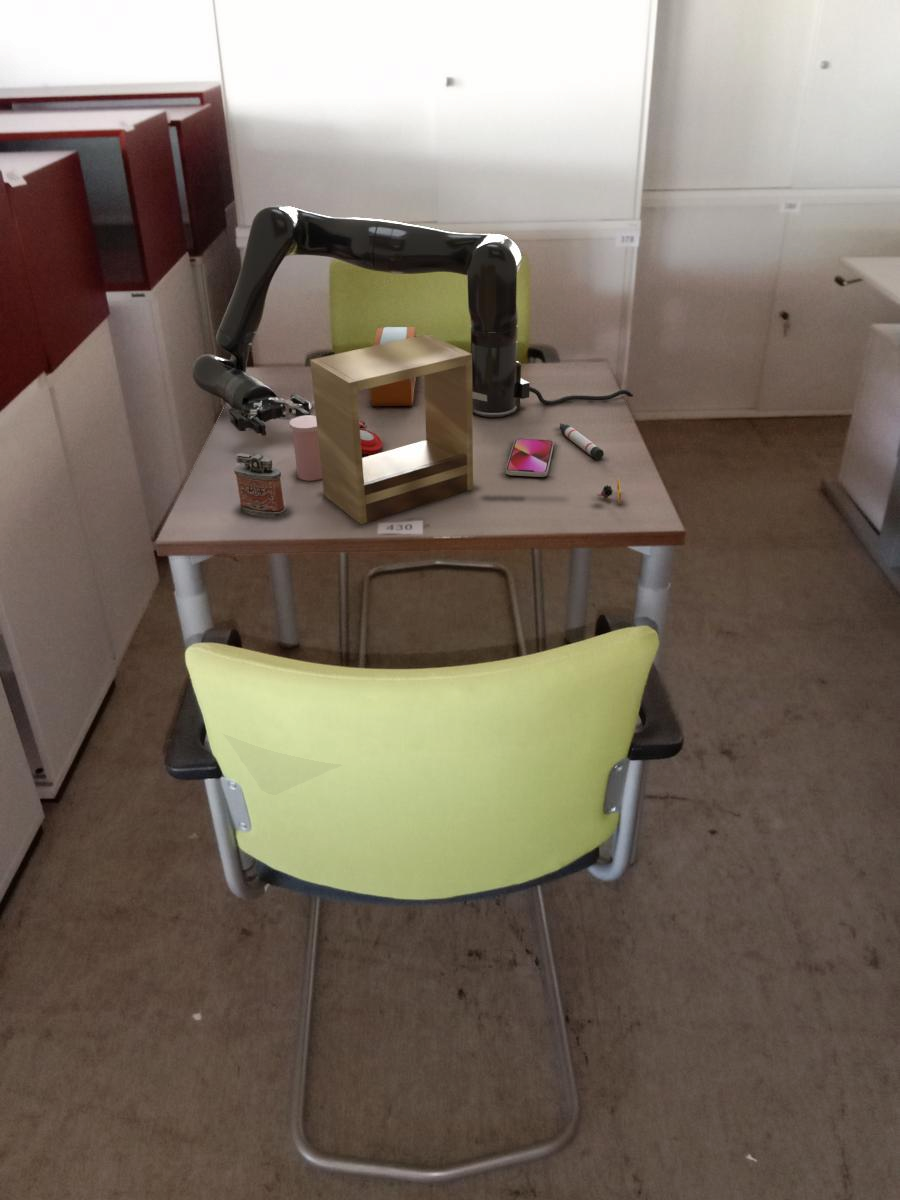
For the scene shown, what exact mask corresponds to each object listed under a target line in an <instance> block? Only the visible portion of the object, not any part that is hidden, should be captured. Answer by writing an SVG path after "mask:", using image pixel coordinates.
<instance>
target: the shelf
mask: <svg viewBox="0 0 900 1200" xmlns="http://www.w3.org/2000/svg"><path fill="white" fill-rule="evenodd" d="M309 362H310V363H309V364H310V374H311V382H312V391H313V393H312V394H313V402H314V403H313V404H314V411H315V416H316V422H317V431H318V441H319V451H320V460H321V470H322V479H321V480H322V489H323V496H325V497H326V498H327V499H329V501H331V502H332V503H333V504H334V505H336V506H337V507H339V508H340V509H341V511H344V513H346V514H347V515H349V516H350V517H351V518H352V519H353V520H355V521H356V522H357V523H359V525H364V524H366V523H369V522H373V521H375V520H379V519H382V518H385V517H388V516H392V515H394V514H399V513H401V512H404V511H407V510H410V509H413V508H417V507H420V506H424V505H427V504H431V503H433V502H436V501H439V500H442V499H445V498H449V497H452V496H454V495H455V496H456V495H458V494H461V493H464V492H467V491H471V490H474V450H473V447H474V446H473V444H474V438H473V437H474V435H473V433H474V432H473V428H474V427H473V424H474V423H473V419H474V418H473V412H472V354H471V352H469V351H467V350H465V349H462V348H459V347H457V346H456V345H453V344H452V343H449V342H447V341H445V340H442V339H441V338H438V337H436V336H434V335H432V334H430V333H426V334H422V335H416V337H412V338H408V339H403V340H398V341H394V342H389V343H385V344H380V345H376V346H373V345H371V346H366V347H362V348H358V349H354V350H349V351H344V352H339V353H335V354H331V355H330V354H329V355H326V356H321V357H317V358H311V359H309ZM422 376H423V386H424V387H423V388H424V413H425V414H424V415H425V417H424V418H425V440H421V441H418V442H413V443H411V444H407V445H404V446H400V447H396V448H393V449H389V450H385V451H383V452H379V453H377V454H373V455H368V456H364V457H363V454H362V451H361V438H360V425H359V420H360V413H359V412H360V411H359V402H358V401H359V400H358V399H359V398H358V392H361V391H366V390H370V388H373V387H378V386H382V385H386V384H390V383H394V382H398V381H402V380H407V379H411V378H415V377H416V378H418V377H422Z"/></svg>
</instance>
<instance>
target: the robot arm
mask: <svg viewBox="0 0 900 1200" xmlns="http://www.w3.org/2000/svg"><path fill="white" fill-rule="evenodd" d="M243 256H244V257H243V260H242V264H241V267H240V271H239V275H238V278H237V280H236V283H235V287H234V289H233V292H232V295H231V296H230V300H229V302H228V305H227V307H226V309H225V312H224V314H223V317H222V319H221V322H220V324H219V327H218V329H217V332H216V335H215V342H216V344H217V345H218V346H219V347H220V348H221V349H223V350H224V351H226V352H227V353H229V354H230V355H231V356H230V359H228V358H225V357H220V356H217V355H215V354H209V353H206V354H203V355H200V356H198V357H197V358H196V359H195V361H194V362H193V365H192V368H191V373H192V378H193V381H194V383H195V384H196V386H197V387H198V388H200V389H201V390H203V391H205V392H207V393H208V394H211V395H213V396H216V397H219V398H220V399H222V400H223V401H224V402H225V403H227V404H228V405H229V406H230V407H231V408H229V409H228V413H229V414H228V415H229V419H230V423H231V424H232V425H233V426H234V427H235V428H236V430H238V432H246V431H247V429H249V431H254V432H255V433H256V434H260V435H261V436H264V435H267V427H266V424H265V423H266V422H268V421H271V420H278V419H279V420H285V421H289V420H292V419H294V418H296V417H299V416H305V415H311V411H310V410H311V409H309V402H310V401H308V400H307V399H305V398H303V397H302V396H300V395H298V394H296V393H292V394H289V395H290V396H289V397H290V398H288V399H284V398H282V397H278V396H277V394H276V393H275V391H274V390H273V389H272V388H270V387H269V386H268V385H266V384H264V383H263V382H262V381H260V380H259V379H257V378H256V377H254V376H251V375H249V374H248V373H247V367H248V359H249V355H250V350H251V347H252V344H253V342H254V339H255V337H256V335H257V333H258V330H259V328H260V325H261V323H262V320H263V315H264V311H265V307H266V300H267V296H268V292H269V289H270V285H271V283H272V281H273V278H274V276H275V275H276V272H277V270H278V268H279V267H280V265H281V264H282V263H283V261H284V259H285V258H287V257H290V256H316V257H327V258H331V259H336V260H338V261H341V262H344V263H346V264H349V265H351V266H355V267H357V268H361V269H364V270H368V271H373V272H374V271H375V272H378V273H379V272H380V273H386V274H393V275H419V274H431V273H452V274H457V275H458V274H459V275H463V276H466V277H467V279H466V281H467V309H468V315H469V321H470V322H469V324H470V325H469V326H470V327H469V328H470V338H469V339H470V340H469V341H470V353H471V354H472V414H473V415H474V414H475V415H477V416H480V417H484V418H501V417H502V418H503V417H507V416H510V415H512V414H514V413H515V412H516V411H517V410H520V409H521V400H525V399H527V398H528V399H529V398H530V393H533V394H535V395H536V397H537V399H538V401H539V402H540V403H541V404H542V405H546V406H551V405H557V404H561V403H564V402H568V401H576V400H577V401H609V400H612V399H614V398H616V397H619V396H621V395H626V396H627V397H631V398H632V397H634V394H633V393H632V392H631V391H630V390H627V389H620V390H618V391H617V390H616V391H615V392H613V393H610V394H607V395H583V394H581V395H579V394H577V395H576V394H575V395H574V394H573V395H566V396H564V397H563V396H562V397H560V398H558V399H555V400H547V399H544V397H543V395H542V393H541V392H540V391H539V390H538V389H536V388H534V387H532V386H531V383H530V382H529V381H527V380H525V379H524V378H522V364H521V362H520V361H518V334H519V333H518V332H519V330H518V327H519V312H518V311H519V310H518V305H517V295H518V294H517V293H518V292H517V290H518V289H517V286H518V284H517V283H518V282H517V281H518V273H519V271H520V268H521V265H522V254H521V250H520V249H519V247H518V245H517V244H516V243H515V242H514V241H513V240H512V239H511V238H510V237H508V236H505V235H503V234H494V233H493V234H491V233H462V232H461V233H460V232H450V231H444V230H440V229H435V228H430V227H427V226H421V225H416V224H415V225H414V224H409V223H405V222H404V223H403V222H398V221H393V220H384V219H378V218H377V219H375V218H363V217H362V218H361V217H332V216H326V215H322V214H318V213H313V212H309V211H306V210H303V209H299V208H295V207H292V206H290V205H289V206H288V205H270V206H266V207H264V208H262V209H260V210H259V211H257V213H256V214H255V215H254V216H253V219H252V222H251V225H250V229H249V233H248V238H247V241H246V247H245V252H244V255H243ZM293 411H295V412H293Z"/></svg>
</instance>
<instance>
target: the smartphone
mask: <svg viewBox="0 0 900 1200" xmlns="http://www.w3.org/2000/svg"><path fill="white" fill-rule="evenodd" d="M554 443H555V442H554V441H553V440H551V439H540V438H539V439H537V438H515V440H514V441H513V444H512V447H511V451H510V454H509V457H508V461H507V463H506V466H505V474H507V475H509V476H519V477H537V478H538V477H539V478H544V477H546V476H548V474H549V469H550V465H551V459H552V454H553V450H554Z"/></svg>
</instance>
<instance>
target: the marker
mask: <svg viewBox="0 0 900 1200" xmlns="http://www.w3.org/2000/svg"><path fill="white" fill-rule="evenodd" d="M559 429H560V432H561V434H562V435H564V436H565V437H566V438H567V439H569V440H570V441H571V442H573V443H574V444H575V445H576V446H578V447H579V448H580V449H581V450H583V451H584V452H586V453H587V454H588V455H589V456H590V457H593V459H595V460H597V461H599V460H601V459H602V458H603V457H604V455H605V453H604V450H603V449H601V448H600V447H599V446H597V444H595V443H594V442H592V441H591V440H590V439H588V438H587V437H586V436H584V434H582V433H580V432H579V431H577V430H576V429H575V428H574V427H572V426H571V425H569V424H566V423H565V424H564V423H561V422H560V423H559Z"/></svg>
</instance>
